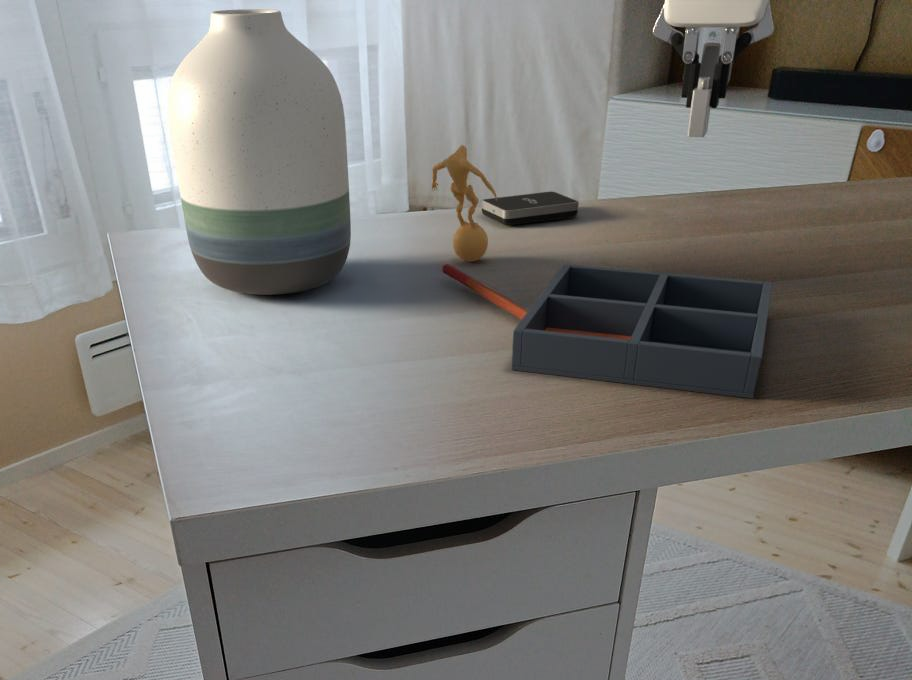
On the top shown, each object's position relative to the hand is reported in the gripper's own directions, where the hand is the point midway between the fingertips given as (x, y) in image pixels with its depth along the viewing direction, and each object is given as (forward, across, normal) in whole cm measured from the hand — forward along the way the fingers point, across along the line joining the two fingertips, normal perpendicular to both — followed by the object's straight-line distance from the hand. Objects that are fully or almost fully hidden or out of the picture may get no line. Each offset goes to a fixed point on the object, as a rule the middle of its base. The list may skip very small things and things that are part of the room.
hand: (702, 104), depth 98 cm
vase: (+14, +40, +26) cm, 50 cm away
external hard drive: (+14, +21, -9) cm, 27 cm away
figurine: (+15, +23, +13) cm, 30 cm away
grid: (+15, 0, +32) cm, 36 cm away
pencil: (+14, +16, +27) cm, 34 cm away
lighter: (+3, 0, 0) cm, 3 cm away
